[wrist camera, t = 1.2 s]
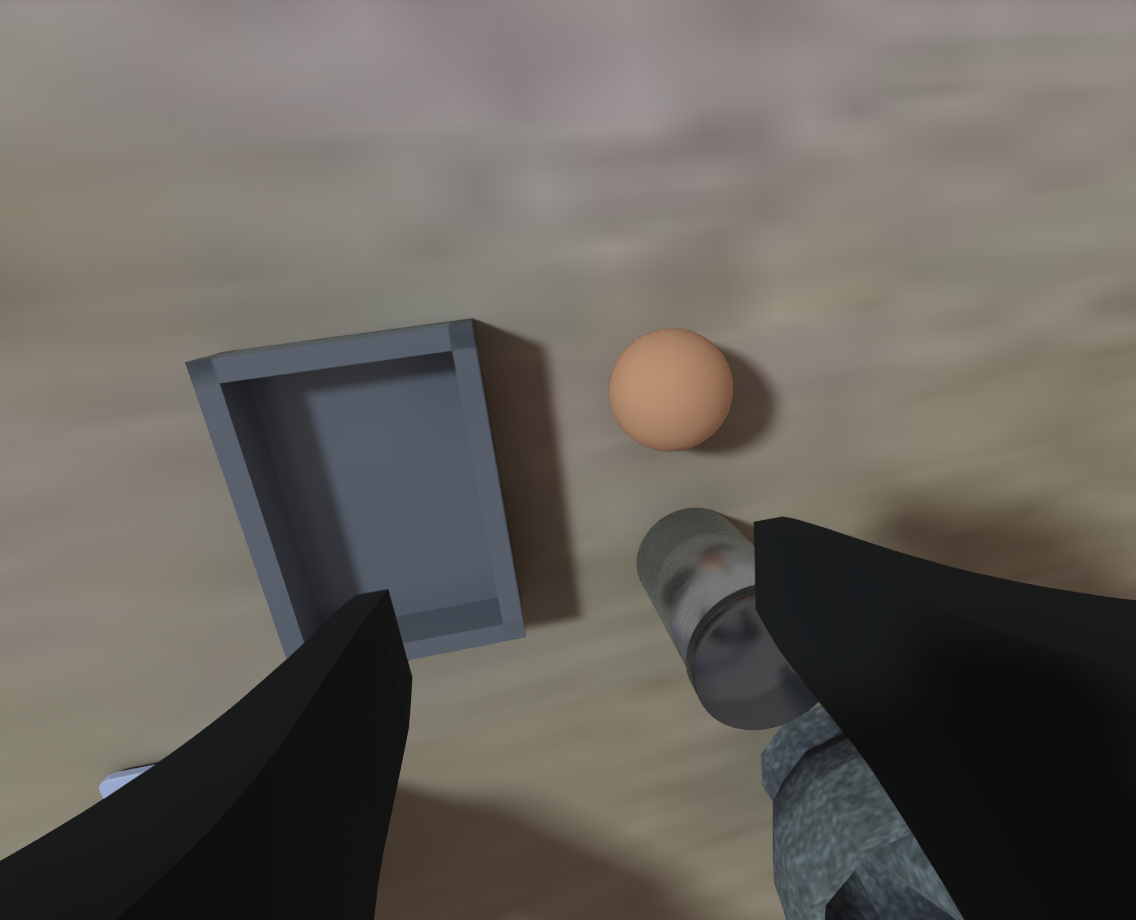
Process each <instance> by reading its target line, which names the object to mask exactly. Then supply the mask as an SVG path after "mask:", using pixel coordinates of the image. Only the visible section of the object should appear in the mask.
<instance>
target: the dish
mask: <svg viewBox="0 0 1136 920" xmlns="http://www.w3.org/2000/svg"><path fill="white" fill-rule="evenodd" d="M185 363H186V366H187V369H188V372H189V375H190V378H191V381H192V384H193V387H194V389H195V392H196V395H197V398H198V401H199V404H200V407H201V410H202V413H203V416H204V419H205V422H206V425H207V427H208V430H209V433H210V436H211V439H212V442H213V445H214V448H215V451H216V454H217V457H218V460H219V463H220V466H221V468H222V471H223V474H224V477H225V480H226V483H227V486H228V489H229V492H230V495H231V498H232V501H233V504H234V506H235V509H236V512H237V515H238V518H239V521H240V524H241V527H242V530H243V533H244V536H245V539H246V542H247V545H248V547H249V550H250V553H251V556H252V559H253V562H254V565H255V568H256V571H257V574H258V577H259V580H260V583H261V585H262V588H263V591H264V594H265V597H266V600H267V603H268V606H269V609H270V612H271V615H272V618H273V621H274V624H275V626H276V629H277V632H278V635H279V638H280V641H281V644H282V647H283V650H284V653H285V656H286V659H287V658H289V657H290V656H291V655H292V654H293V653H294V652H295V651H296V650H297V649H298V648H299V647H300V646H301V645H302V644H303V643H304V642H305V641H306V640H307V639H308V638H310V637H311V636H312V635H313V634H314V633H315V632H316V631H317V630H318V629H319V628H320V627H321V626H322V625H323V624H324V623H325V622H326V621H327V620H328V619H329V618H330V617H331V616H332V615H333V614H335V613H336V612H337V611H338V610H339V609H340V608H341V607H342V606H343V605H344V604H345V603H346V602H348V601H349V600H350V599H351V598H352V597H354V596H355V595H358V594H364V593H369V592H374V591H380V590H385V589H389V593H390V597H391V600H392V604H393V608H394V611H395V615H396V619H397V622H398V626H399V630H400V634H401V637H402V641H403V645H404V648H405V652H406V656H407V660H411V659H416V658H421V657H426V656H431V655H437V654H442V653H447V652H452V651H457V650H462V649H467V648H472V647H478V646H483V645H488V644H493V643H498V642H503V641H508V640H513V639H519V638H524V637H526V635H525V627H524V620H523V612H522V604H521V597H520V591H519V585H518V580H517V574H516V568H515V562H514V556H513V550H512V545H511V539H510V533H509V527H508V521H507V515H506V510H505V504H504V498H503V492H502V486H501V480H500V475H499V469H498V463H497V457H496V451H495V445H494V440H493V434H492V428H491V422H490V416H489V411H488V405H487V399H486V393H485V387H484V381H483V376H482V370H481V364H480V358H479V352H478V346H477V341H476V335H475V329H474V323H473V318H472V319H464V320H457V321H449V322H442V323H435V324H427V325H420V326H412V327H405V328H397V329H390V330H383V331H375V332H368V333H360V334H353V335H345V336H338V337H331V338H323V339H316V340H308V341H301V342H293V343H286V344H279V345H271V346H264V347H256V348H249V349H242V350H234V351H227V352H221V353H217V354H214V355H210V356H206V357H203V358H199V359H195V360H192V361H188V362H185Z"/></svg>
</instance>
